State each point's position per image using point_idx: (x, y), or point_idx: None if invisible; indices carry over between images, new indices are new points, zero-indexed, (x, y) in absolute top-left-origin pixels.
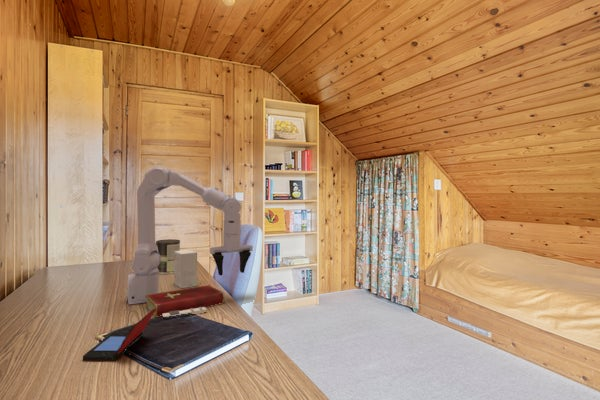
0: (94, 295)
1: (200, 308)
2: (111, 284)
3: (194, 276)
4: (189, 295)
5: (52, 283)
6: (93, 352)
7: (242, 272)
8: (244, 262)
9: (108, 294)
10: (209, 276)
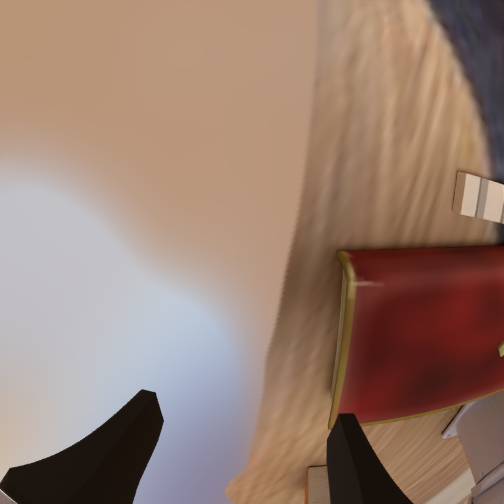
0: None
1: (485, 194)
2: (437, 488)
3: (317, 494)
4: (490, 321)
5: None
6: None
7: (152, 393)
8: (99, 451)
9: None
10: (231, 494)
